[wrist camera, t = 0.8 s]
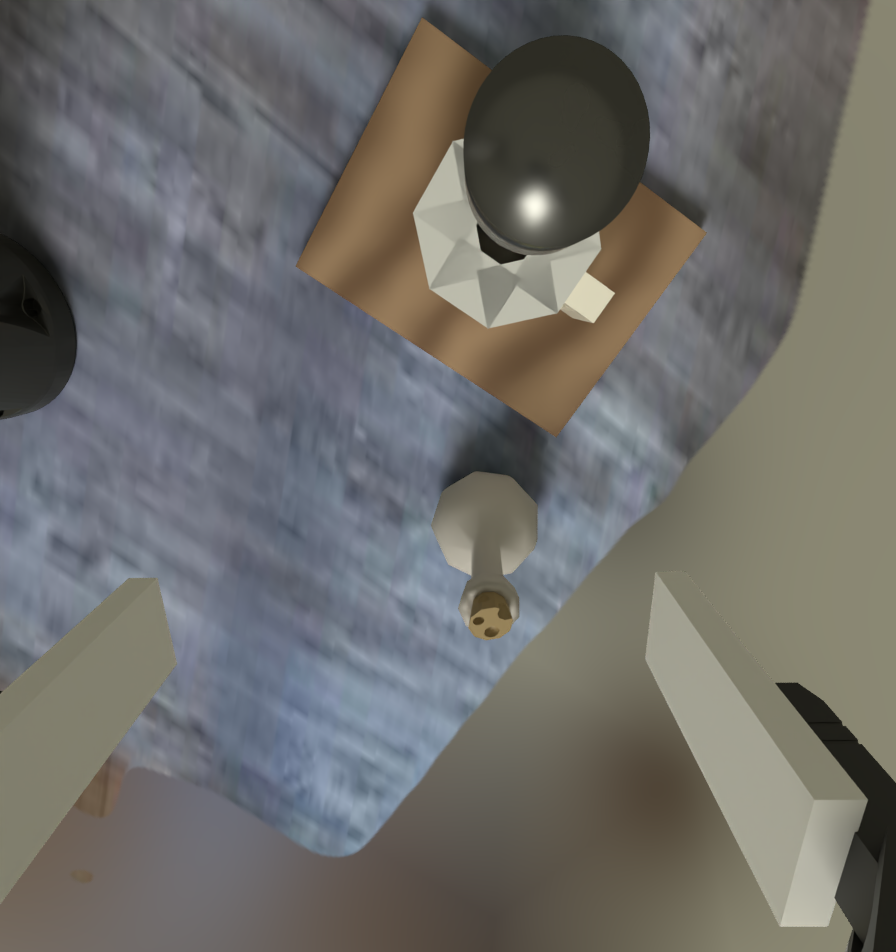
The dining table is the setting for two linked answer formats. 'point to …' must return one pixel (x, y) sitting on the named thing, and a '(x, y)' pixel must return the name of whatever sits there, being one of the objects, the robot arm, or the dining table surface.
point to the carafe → (498, 261)
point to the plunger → (554, 144)
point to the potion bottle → (486, 545)
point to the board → (402, 267)
